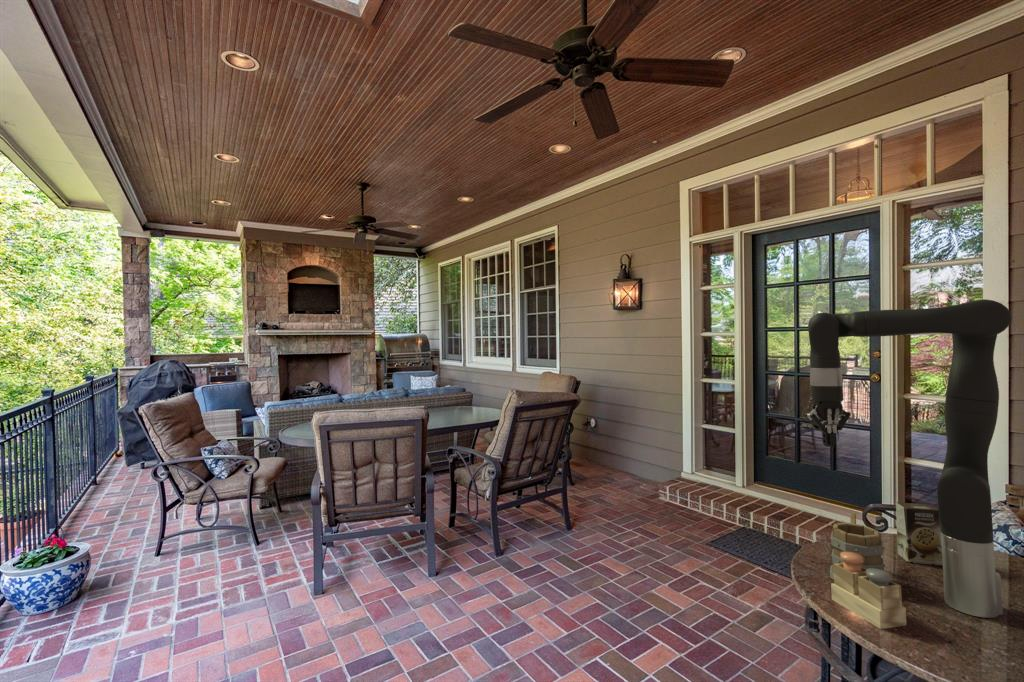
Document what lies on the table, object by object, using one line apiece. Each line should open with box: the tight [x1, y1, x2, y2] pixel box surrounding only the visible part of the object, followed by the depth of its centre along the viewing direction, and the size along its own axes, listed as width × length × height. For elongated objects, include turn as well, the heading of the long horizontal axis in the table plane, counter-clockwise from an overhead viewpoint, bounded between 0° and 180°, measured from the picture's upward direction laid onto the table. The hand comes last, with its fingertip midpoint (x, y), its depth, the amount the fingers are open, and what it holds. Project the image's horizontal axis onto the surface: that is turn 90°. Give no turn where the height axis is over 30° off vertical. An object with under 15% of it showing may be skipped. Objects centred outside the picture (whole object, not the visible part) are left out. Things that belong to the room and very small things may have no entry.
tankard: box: [829, 512, 886, 581], centre depth 129 cm, size 20×13×15 cm, turn 143°
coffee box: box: [895, 501, 943, 566], centre depth 138 cm, size 9×6×16 cm
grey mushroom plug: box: [866, 568, 892, 587], centre depth 108 cm, size 5×5×7 cm
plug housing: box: [830, 563, 907, 630], centre depth 111 cm, size 7×13×9 cm, turn 9°
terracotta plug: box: [840, 552, 863, 573], centre depth 115 cm, size 5×5×7 cm
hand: (829, 446), depth 127 cm, fingers closed
